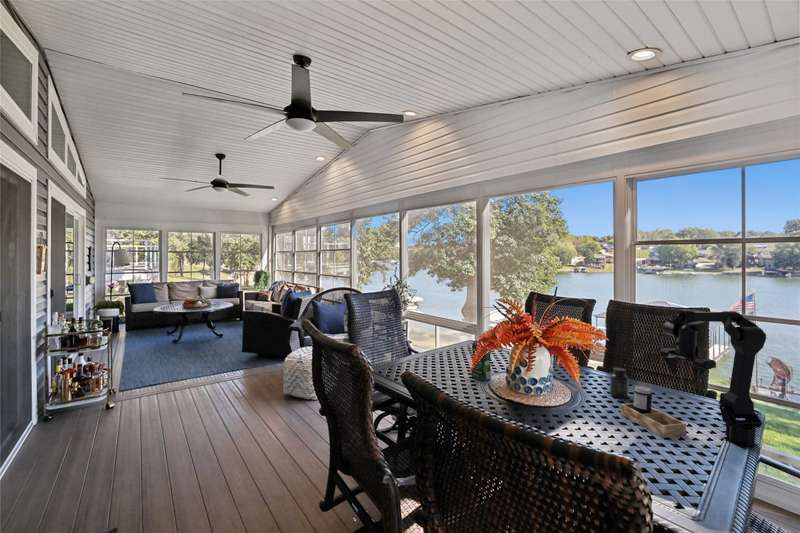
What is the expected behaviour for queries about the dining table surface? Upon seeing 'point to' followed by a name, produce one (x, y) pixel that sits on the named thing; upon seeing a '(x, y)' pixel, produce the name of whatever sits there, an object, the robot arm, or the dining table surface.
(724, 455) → the dining table surface
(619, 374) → the supplement bottle
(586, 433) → the dining table surface
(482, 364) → the coffee jar
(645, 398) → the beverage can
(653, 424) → the caddy
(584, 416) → the dining table surface
